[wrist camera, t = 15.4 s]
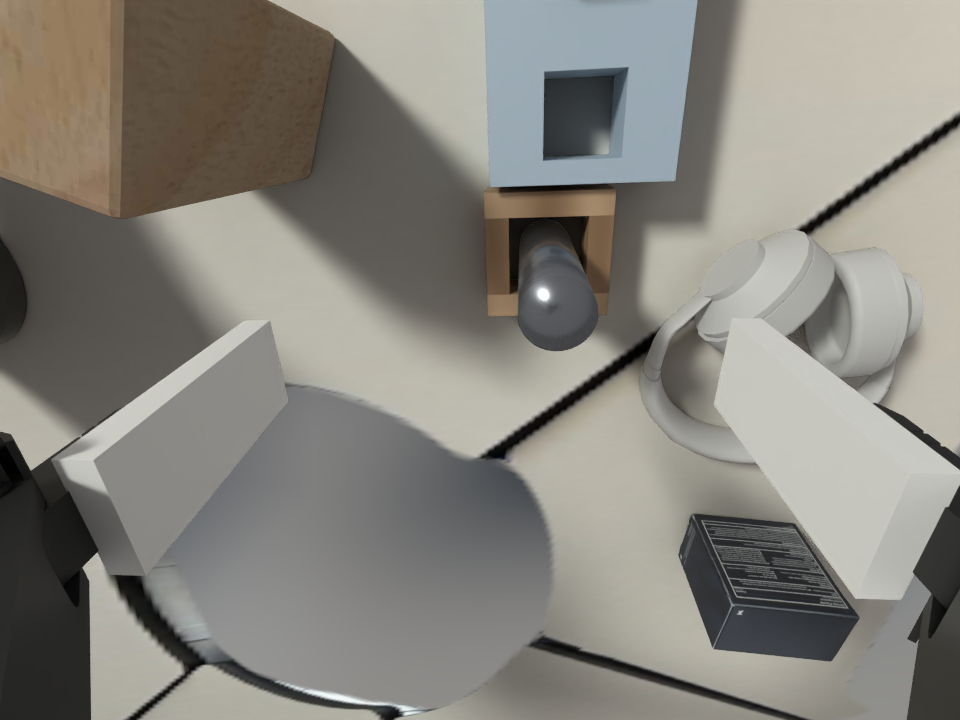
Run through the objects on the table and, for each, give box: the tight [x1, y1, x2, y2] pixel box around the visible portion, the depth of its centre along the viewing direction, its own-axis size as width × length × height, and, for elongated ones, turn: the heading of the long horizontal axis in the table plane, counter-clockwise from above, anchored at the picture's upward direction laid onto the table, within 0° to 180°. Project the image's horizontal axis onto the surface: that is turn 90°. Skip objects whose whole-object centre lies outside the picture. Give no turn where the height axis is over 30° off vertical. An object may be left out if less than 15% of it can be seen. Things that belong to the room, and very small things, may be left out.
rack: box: [484, 183, 616, 316], centre depth 37 cm, size 9×9×4 cm
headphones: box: [639, 230, 924, 463], centre depth 38 cm, size 18×8×20 cm
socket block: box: [484, 0, 698, 187], centre depth 30 cm, size 12×18×5 cm, turn 2°
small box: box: [678, 514, 859, 661], centre depth 45 cm, size 11×6×10 cm, turn 87°
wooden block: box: [0, 0, 335, 219], centre depth 26 cm, size 10×10×20 cm
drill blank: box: [518, 219, 598, 351], centre depth 31 cm, size 4×4×16 cm
